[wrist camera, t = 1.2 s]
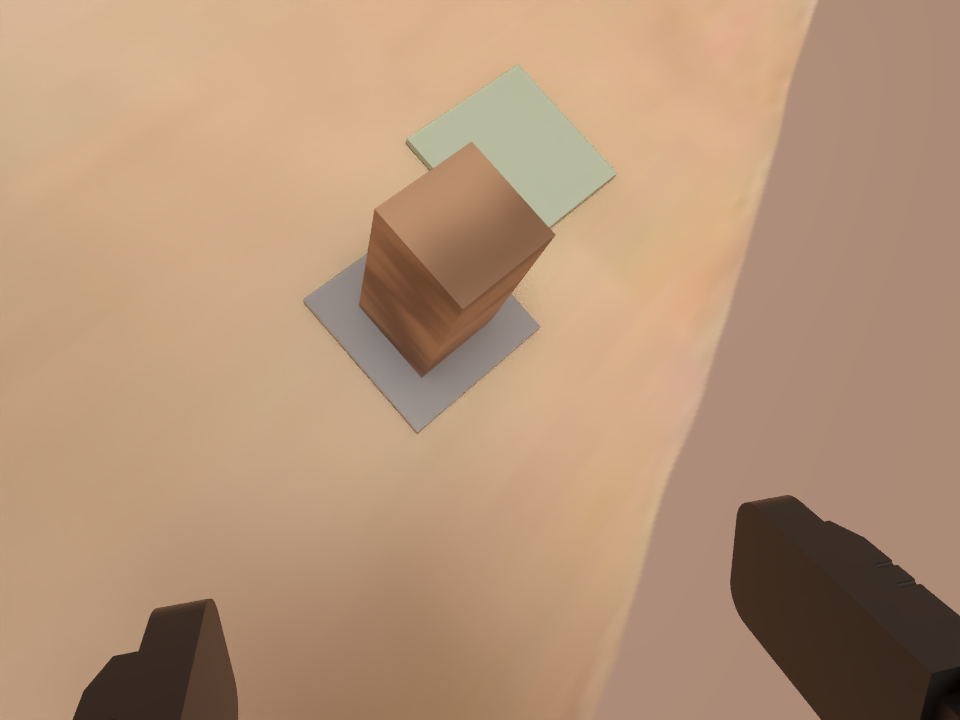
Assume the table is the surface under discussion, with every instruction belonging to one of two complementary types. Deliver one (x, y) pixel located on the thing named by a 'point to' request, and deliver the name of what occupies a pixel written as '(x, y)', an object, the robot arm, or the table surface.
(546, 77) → the table surface
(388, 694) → the table surface
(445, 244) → the walnut block
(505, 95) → the sage mat
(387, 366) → the tile
